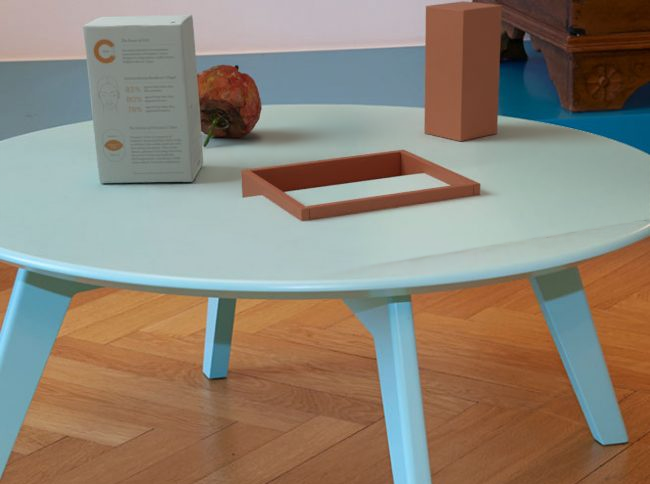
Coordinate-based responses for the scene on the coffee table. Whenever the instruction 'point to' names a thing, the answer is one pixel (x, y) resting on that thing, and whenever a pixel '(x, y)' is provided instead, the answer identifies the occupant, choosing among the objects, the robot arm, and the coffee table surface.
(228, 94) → the red round fruit
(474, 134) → the terracotta block
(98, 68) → the small box
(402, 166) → the terracotta frame
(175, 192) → the coffee table surface
